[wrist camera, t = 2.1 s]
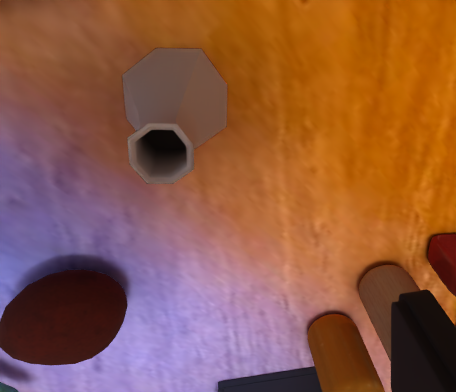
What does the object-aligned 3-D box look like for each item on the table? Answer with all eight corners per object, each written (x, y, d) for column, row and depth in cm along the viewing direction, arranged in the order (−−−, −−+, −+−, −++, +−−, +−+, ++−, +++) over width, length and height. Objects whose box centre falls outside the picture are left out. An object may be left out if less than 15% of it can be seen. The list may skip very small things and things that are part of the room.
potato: (103, 289, 29) (112, 240, 34) (-41, 332, 29) (-9, 277, 34) (140, 361, 32) (143, 306, 38) (12, 400, 32) (33, 339, 38)
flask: (210, 29, 27) (210, 54, 18) (242, 133, 30) (255, 198, 21) (104, 64, 28) (54, 105, 19) (146, 163, 31) (120, 237, 22)
